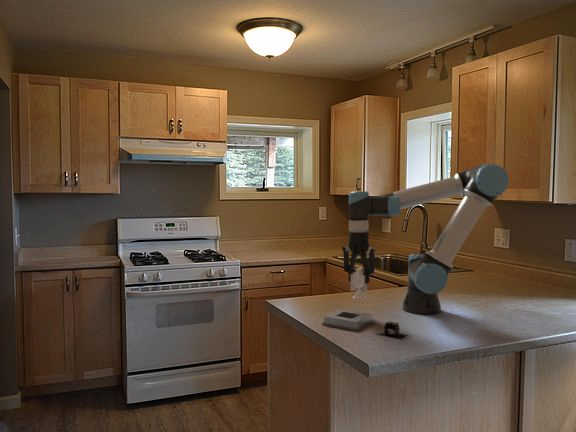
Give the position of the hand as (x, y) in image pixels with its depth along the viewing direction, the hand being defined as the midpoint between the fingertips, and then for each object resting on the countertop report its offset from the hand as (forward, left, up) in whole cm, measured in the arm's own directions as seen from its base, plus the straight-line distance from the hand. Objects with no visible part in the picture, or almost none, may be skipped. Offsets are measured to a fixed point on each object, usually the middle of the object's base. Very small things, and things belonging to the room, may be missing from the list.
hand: (359, 290), depth 194 cm
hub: (-1, +12, -10) cm, 16 cm away
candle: (0, 0, -3) cm, 3 cm away
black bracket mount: (-20, +16, -11) cm, 27 cm away
